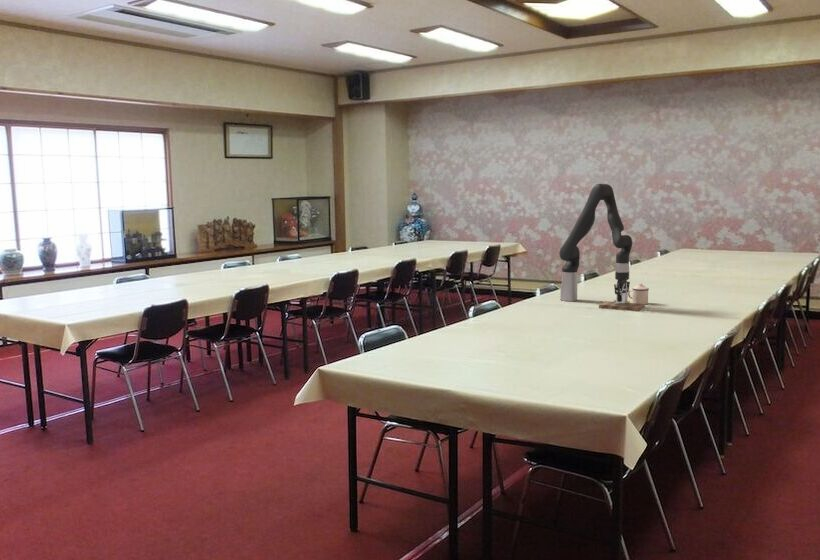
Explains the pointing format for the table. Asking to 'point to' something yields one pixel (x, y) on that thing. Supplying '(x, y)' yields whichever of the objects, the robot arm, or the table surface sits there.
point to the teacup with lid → (639, 294)
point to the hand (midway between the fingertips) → (621, 300)
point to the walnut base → (622, 306)
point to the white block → (623, 298)
